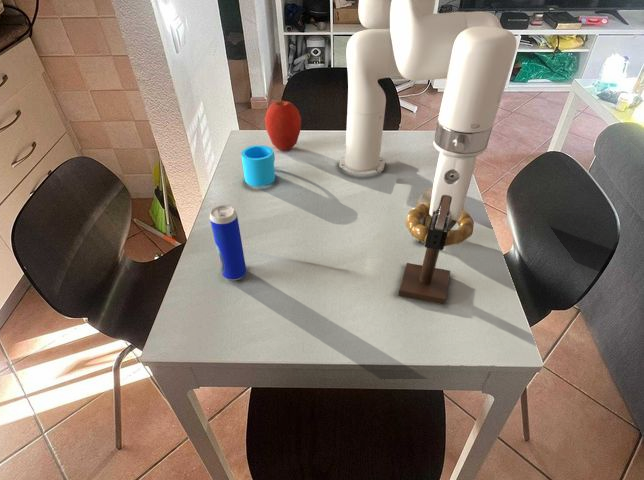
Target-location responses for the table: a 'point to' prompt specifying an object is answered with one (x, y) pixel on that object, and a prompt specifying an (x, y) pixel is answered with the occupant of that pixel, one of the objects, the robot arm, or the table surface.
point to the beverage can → (228, 241)
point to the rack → (425, 280)
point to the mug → (258, 165)
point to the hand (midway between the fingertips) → (435, 241)
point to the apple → (283, 124)
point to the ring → (422, 231)
